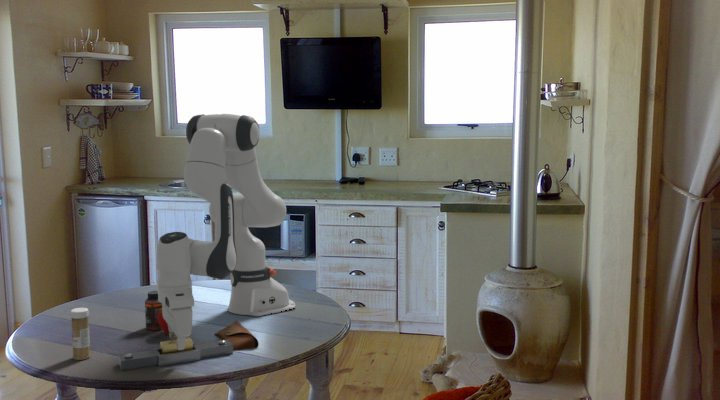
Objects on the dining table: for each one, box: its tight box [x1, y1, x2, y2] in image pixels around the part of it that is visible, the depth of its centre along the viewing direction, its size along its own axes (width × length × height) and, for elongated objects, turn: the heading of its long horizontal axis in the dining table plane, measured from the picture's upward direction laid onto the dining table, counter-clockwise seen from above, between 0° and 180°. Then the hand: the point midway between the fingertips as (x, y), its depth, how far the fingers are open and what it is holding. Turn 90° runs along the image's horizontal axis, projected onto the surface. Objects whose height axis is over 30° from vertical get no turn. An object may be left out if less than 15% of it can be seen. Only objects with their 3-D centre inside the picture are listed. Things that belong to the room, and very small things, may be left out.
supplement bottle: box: [144, 290, 162, 331], centre depth 220 cm, size 6×6×11 cm
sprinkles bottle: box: [69, 307, 91, 361], centre depth 194 cm, size 5×5×13 cm
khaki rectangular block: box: [159, 337, 194, 355], centre depth 194 cm, size 8×3×5 cm, turn 116°
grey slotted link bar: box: [117, 339, 234, 371], centre depth 194 cm, size 30×7×3 cm, turn 116°
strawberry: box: [157, 308, 169, 335], centre depth 214 cm, size 6×8×10 cm
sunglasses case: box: [213, 319, 260, 352], centre depth 209 cm, size 18×7×7 cm
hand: (176, 343), depth 194 cm, fingers open, 8 cm apart
